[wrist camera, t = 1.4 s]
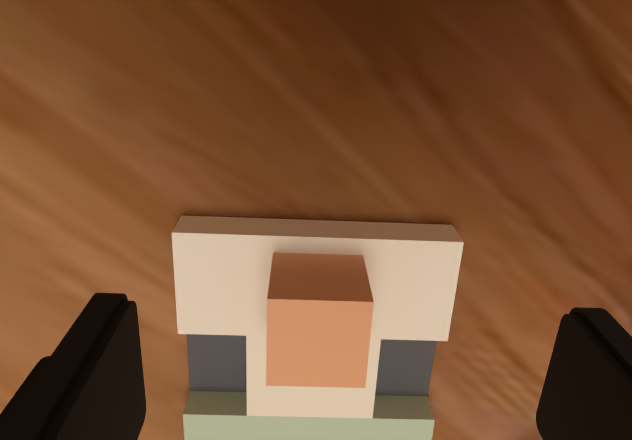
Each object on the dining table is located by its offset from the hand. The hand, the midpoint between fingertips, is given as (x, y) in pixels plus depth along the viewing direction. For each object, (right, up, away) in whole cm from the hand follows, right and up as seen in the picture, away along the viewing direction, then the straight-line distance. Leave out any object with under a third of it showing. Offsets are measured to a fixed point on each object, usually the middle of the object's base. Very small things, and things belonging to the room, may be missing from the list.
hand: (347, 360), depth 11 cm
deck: (-1, -6, +24) cm, 25 cm away
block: (-1, -1, +19) cm, 19 cm away
